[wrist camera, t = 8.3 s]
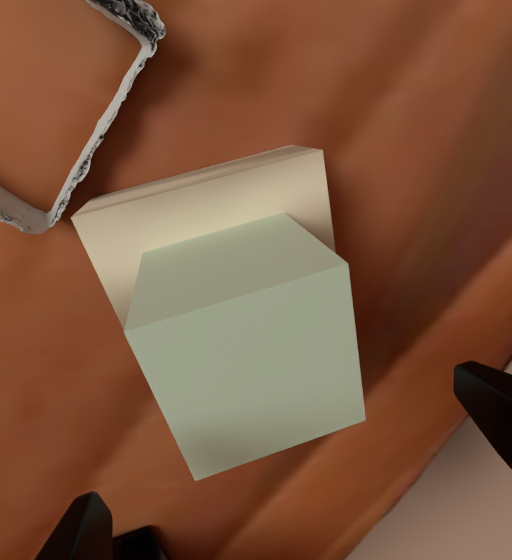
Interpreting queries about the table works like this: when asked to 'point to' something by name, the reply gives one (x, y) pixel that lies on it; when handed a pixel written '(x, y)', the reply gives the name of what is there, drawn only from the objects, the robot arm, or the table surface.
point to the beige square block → (200, 211)
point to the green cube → (247, 341)
